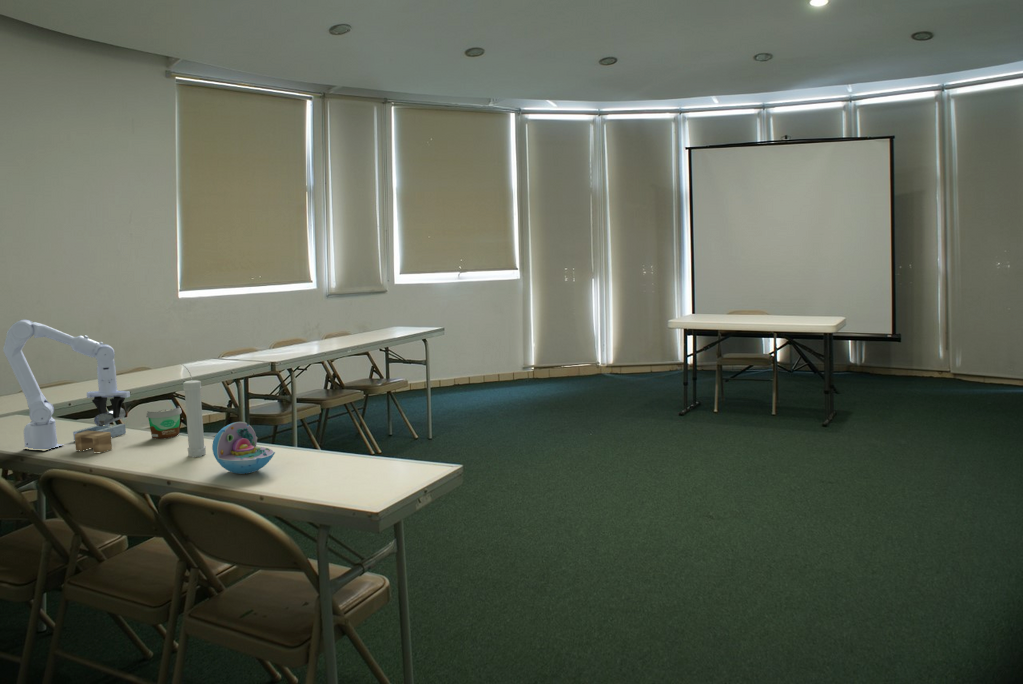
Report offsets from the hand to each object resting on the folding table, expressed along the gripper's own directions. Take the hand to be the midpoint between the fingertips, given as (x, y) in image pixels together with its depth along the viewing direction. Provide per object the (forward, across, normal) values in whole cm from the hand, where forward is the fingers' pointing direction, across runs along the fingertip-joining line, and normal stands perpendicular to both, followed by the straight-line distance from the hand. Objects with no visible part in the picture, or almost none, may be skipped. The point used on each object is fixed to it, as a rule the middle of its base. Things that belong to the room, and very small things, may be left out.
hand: (110, 417), depth 258 cm
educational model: (+8, +64, -37) cm, 74 cm away
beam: (+8, +2, -13) cm, 15 cm away
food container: (+8, +18, +6) cm, 20 cm away
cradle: (+8, -7, +5) cm, 12 cm away
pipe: (+8, +39, -18) cm, 44 cm away
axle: (+2, +1, 0) cm, 2 cm away
